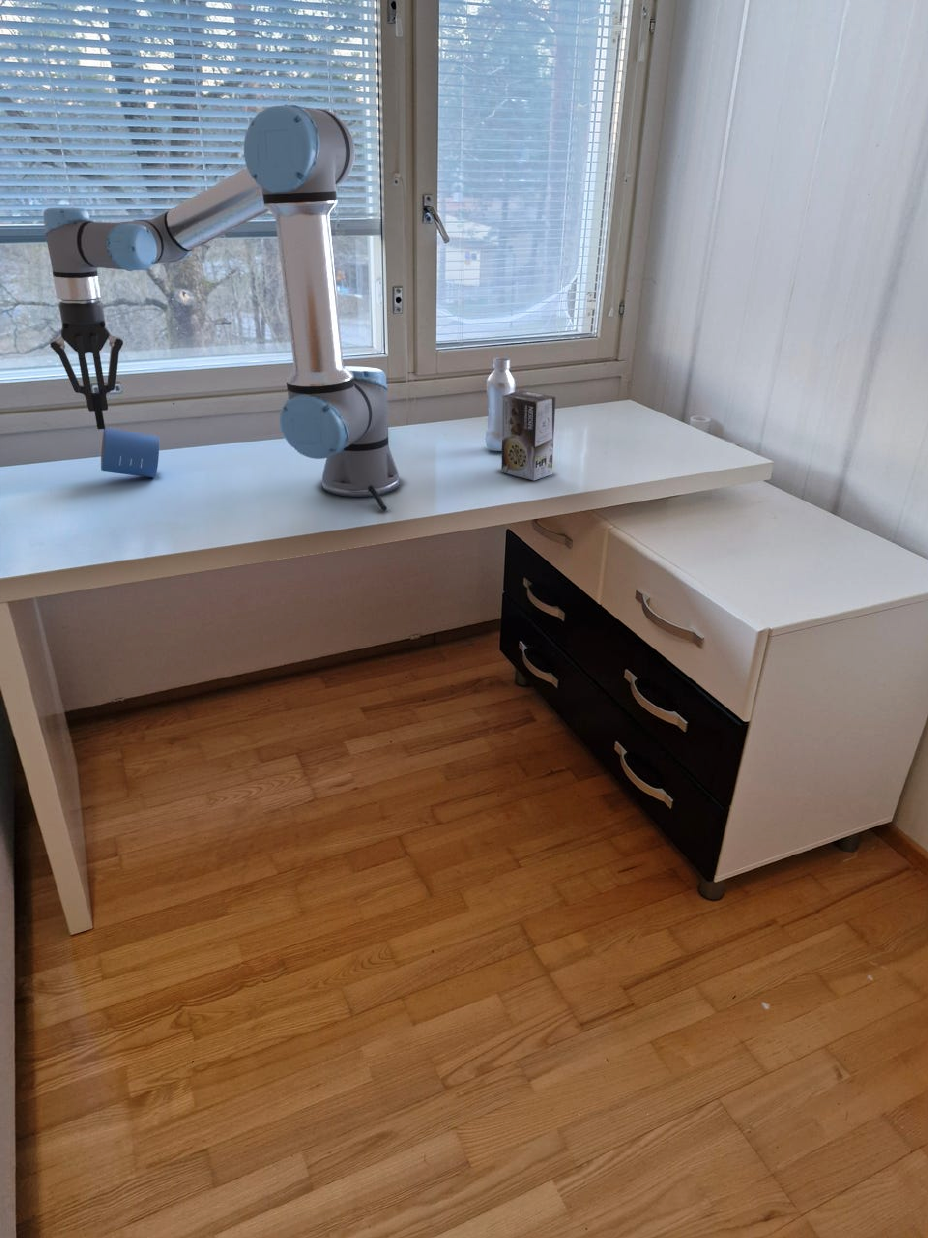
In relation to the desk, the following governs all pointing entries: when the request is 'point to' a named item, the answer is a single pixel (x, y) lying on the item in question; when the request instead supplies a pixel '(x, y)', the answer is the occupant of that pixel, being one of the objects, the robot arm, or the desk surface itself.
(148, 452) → the measuring cup
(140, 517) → the desk surface
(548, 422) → the coffee box
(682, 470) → the desk surface
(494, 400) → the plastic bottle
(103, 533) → the desk surface
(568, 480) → the desk surface
